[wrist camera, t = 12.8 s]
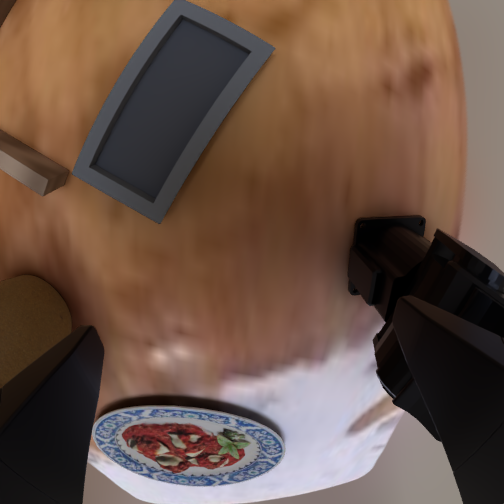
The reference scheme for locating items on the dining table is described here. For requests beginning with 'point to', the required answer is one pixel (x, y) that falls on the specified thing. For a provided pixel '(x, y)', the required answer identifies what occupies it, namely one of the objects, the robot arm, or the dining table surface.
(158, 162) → the tray
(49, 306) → the plant pot
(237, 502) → the dining table surface
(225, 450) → the ceramic plate
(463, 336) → the robot arm
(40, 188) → the frame
